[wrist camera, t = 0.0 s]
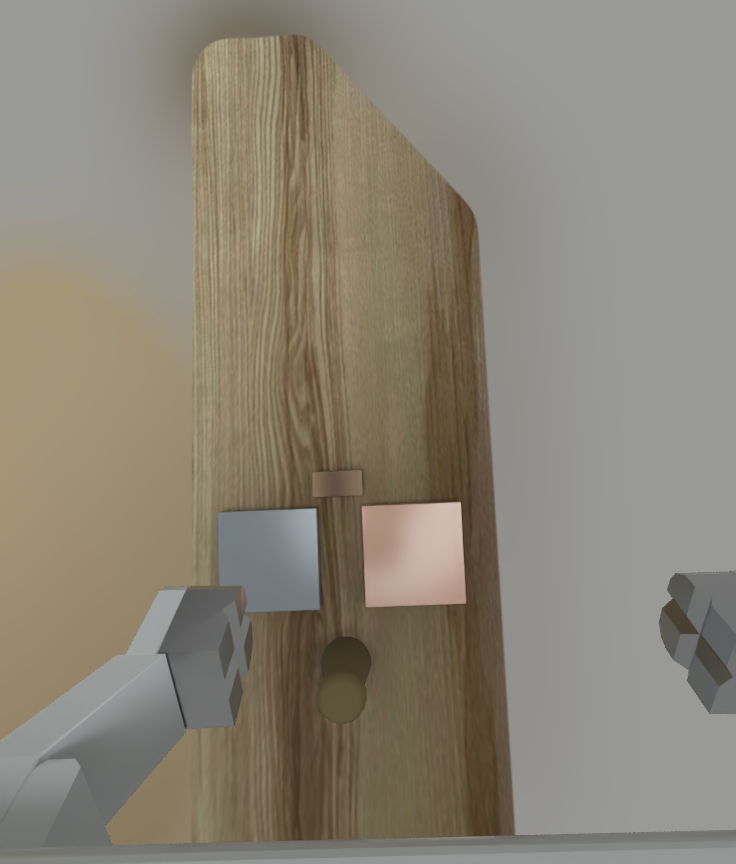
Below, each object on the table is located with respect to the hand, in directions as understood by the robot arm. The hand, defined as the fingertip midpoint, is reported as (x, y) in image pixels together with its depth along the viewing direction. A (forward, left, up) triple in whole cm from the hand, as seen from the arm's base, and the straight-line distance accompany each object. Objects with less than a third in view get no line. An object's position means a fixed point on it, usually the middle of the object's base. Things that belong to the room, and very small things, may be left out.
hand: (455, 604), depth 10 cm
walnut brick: (+4, +5, -55) cm, 55 cm away
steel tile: (0, +17, -54) cm, 57 cm away
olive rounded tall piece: (-16, +15, -55) cm, 59 cm away
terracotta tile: (-8, +1, -54) cm, 55 cm away
